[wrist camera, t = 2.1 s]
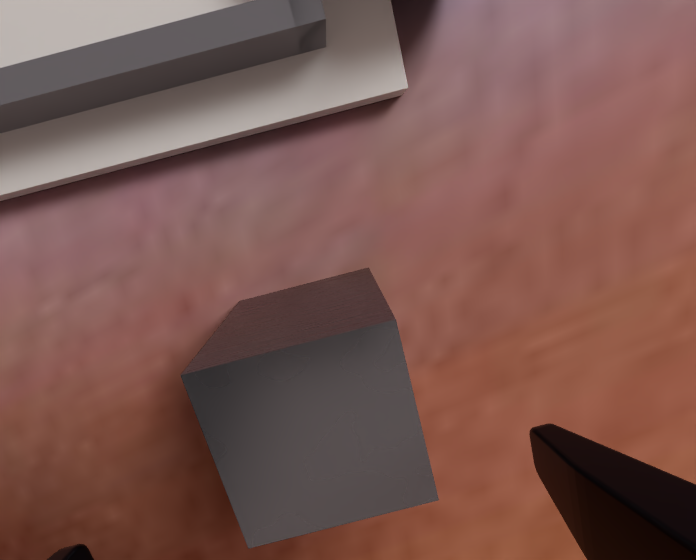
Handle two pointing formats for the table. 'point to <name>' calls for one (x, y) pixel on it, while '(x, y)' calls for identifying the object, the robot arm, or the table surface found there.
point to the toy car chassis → (176, 77)
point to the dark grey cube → (311, 410)
